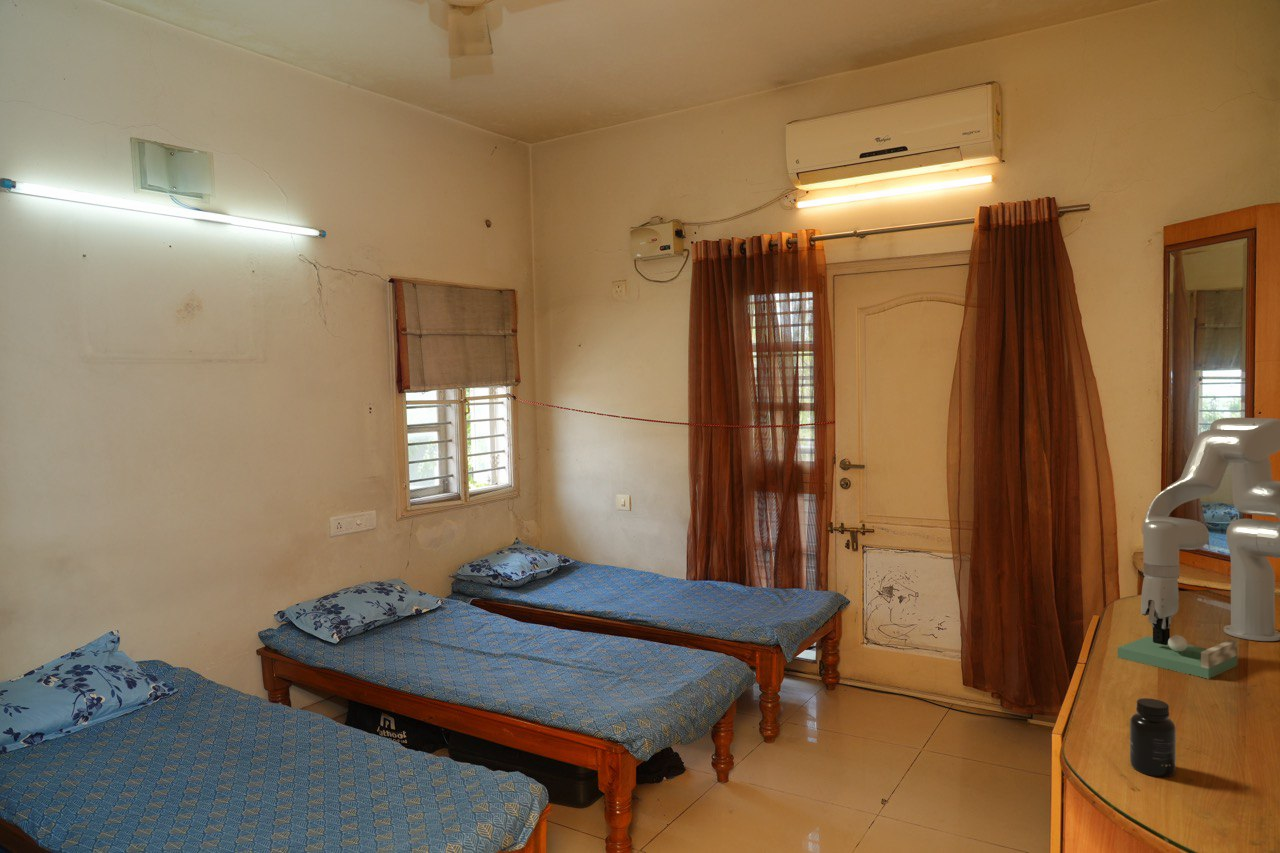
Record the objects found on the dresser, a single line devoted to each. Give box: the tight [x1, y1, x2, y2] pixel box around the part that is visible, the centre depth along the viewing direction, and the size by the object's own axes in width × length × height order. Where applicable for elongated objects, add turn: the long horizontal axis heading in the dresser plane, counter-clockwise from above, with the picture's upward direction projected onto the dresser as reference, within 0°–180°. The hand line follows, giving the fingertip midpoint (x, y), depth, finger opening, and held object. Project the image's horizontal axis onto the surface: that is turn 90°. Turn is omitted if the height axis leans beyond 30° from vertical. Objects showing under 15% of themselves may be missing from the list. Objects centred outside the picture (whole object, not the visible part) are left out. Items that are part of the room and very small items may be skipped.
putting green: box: [1117, 635, 1238, 680], centre depth 199 cm, size 16×20×2 cm
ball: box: [1168, 634, 1188, 652], centre depth 198 cm, size 4×4×4 cm
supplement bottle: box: [1129, 697, 1177, 778], centre depth 142 cm, size 7×7×12 cm
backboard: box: [1201, 639, 1238, 669], centre depth 191 cm, size 16×2×4 cm, turn 124°
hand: (1161, 643), depth 201 cm, fingers closed
